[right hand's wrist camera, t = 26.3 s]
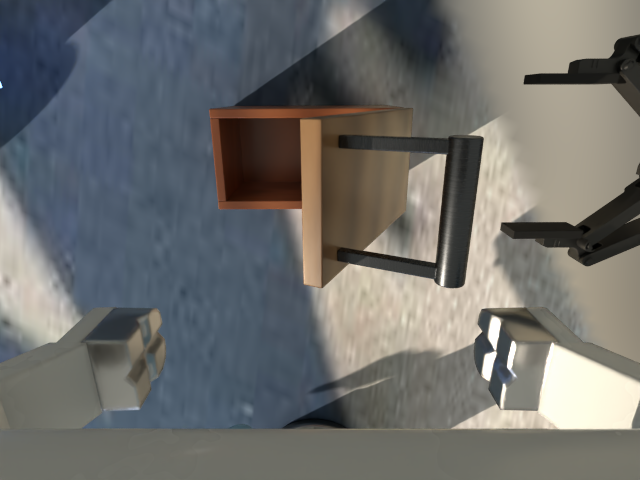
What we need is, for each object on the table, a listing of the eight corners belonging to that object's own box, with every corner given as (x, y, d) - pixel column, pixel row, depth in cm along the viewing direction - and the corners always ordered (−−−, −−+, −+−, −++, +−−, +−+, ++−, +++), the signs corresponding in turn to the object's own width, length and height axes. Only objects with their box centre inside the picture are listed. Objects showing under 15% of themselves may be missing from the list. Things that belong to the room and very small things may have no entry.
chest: (238, 187, 48) (218, 209, 39) (232, 106, 45) (208, 108, 36) (382, 186, 48) (398, 208, 39) (386, 105, 45) (404, 107, 36)
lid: (303, 284, 23) (455, 318, 20) (299, 118, 20) (480, 122, 16) (393, 209, 38) (488, 220, 35) (399, 108, 35) (505, 108, 32)
